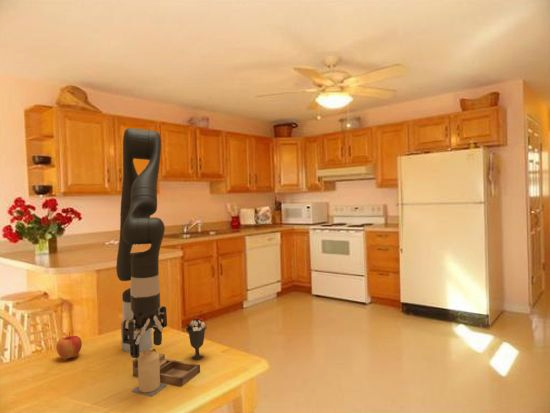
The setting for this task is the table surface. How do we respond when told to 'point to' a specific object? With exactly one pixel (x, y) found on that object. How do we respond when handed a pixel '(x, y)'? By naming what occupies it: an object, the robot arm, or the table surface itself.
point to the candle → (149, 371)
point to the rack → (173, 371)
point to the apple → (69, 347)
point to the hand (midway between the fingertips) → (146, 350)
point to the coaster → (149, 392)
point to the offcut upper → (161, 358)
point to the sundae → (196, 335)
